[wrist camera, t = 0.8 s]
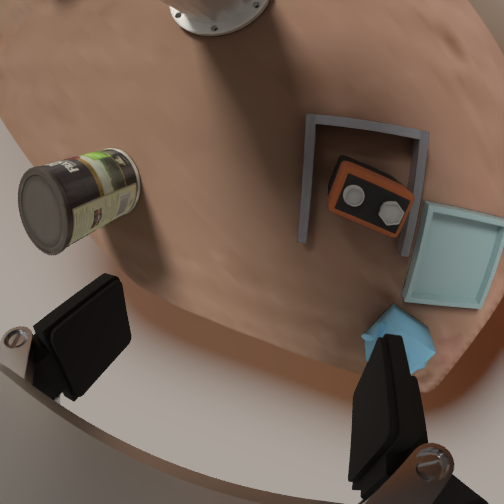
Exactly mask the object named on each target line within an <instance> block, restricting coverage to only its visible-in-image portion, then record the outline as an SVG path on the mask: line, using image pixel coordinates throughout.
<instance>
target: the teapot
mask: <svg viewBox="0 0 504 504" xmlns="http://www.w3.org/2000/svg"><path fill="white" fill-rule="evenodd" d="M386 333H387V334H394V335H401V336H402V338H403V342H404V346H405V351H406V355H407V359H408V364H409V369H410V374H413V373H414V372H415V371H416V370H417V369H423V368H424V367H425V366H426V364H427V361H428V360H429V359H430V358H431V357H432V356H433V355H434V354H436V350H435V347H434V344H433V341H432V338H431V335H430V332H429V329H428V327H427V326H426V325H424V324H423V323H421V322H420V321H419V320H417V319H416V318H414V317H413V316H411V315H410V314H408V313H407V312H405V311H404V310H402V309H401V308H399V307H398V306H396V305H395V304H392V305H391V306H390V307H389V308H388V309H387V310H386V311H385V312H384V314H383V315H382V316H381V317H380V318H379V319H378V320H377V321H376V322H375V323H374V324H373V325H372V326H371V327H370V328H369V329H368V330H367V331H366V332H365V333H364V334H363V335H362V336H361V337H362V338H363V339H364V341H365V354H366V361H367V362H368V360H369V358H370V355H371V353H372V351H373V348H374V346H375V343H376V341H377V339H378V337H383V336H384V334H386Z"/></svg>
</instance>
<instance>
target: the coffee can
mask: <svg viewBox="0 0 504 504" xmlns="http://www.w3.org/2000/svg"><path fill="white" fill-rule="evenodd" d="M139 195H140V177H139V173H138V170H137V167H136V165H135V163H134V162H133V160H132V159H131V158H130V156H129V155H127V154H126V153H125V152H123V151H121V150H119V149H116V148H108V149H105V150H101V151H97V152H93V153H89V154H84V155H80V156H76V157H72V158H68V159H65V160H61V161H57V162H54V163H50V164H47V165H44V166H38V167H33V168H30V169H29V170H27V171H26V172H25V173H24V175H23V177H22V179H21V181H20V185H19V190H18V206H19V212H20V216H21V220H22V223H23V226H24V228H25V230H26V233H27V234H28V236H29V238H30V239H31V241H32V242H33V243H34V245H35V246H36V247H37V248H38V249H39V250H41V251H42V252H44V253H46V254H48V255H57V254H59V253H60V252H62V251H63V250H64V249H65V248H66V247H68V246H70V245H71V244H73V243H75V242H76V241H78V240H80V239H82V238H83V237H85V236H87V235H88V234H90V233H92V232H94V231H95V230H97V229H99V228H101V227H103V226H104V225H106V224H108V223H110V222H112V221H114V220H115V219H117V218H119V217H121V216H123V215H126V214H128V213H129V212H131V211H132V210H133V208H134V207H135V205H136V204H137V201H138V199H139Z"/></svg>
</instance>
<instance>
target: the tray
mask: <svg viewBox="0 0 504 504" xmlns="http://www.w3.org/2000/svg"><path fill="white" fill-rule="evenodd" d="M503 247H504V218H503V217H499V216H495V215H491V214H486V213H482V212H478V211H474V210H469V209H465V208H460V207H455V206H450V205H446V204H441V203H436V202H430V201H425V200H424V203H423V208H422V214H421V219H420V224H419V228H418V233H417V238H416V242H415V246H414V250H413V254H412V258H411V262H410V266H409V270H408V274H407V277H406V281H405V284H404V288H403V291H402V296H403V299H404V302H410V303H420V304H430V305H440V306H450V307H461V308H473V309H481V308H482V306H483V303H484V301H485V299H486V296H487V294H488V291H489V288H490V286H491V283H492V280H493V278H494V275H495V272H496V269H497V266H498V263H499V260H500V257H501V254H502V250H503Z"/></svg>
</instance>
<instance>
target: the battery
mask: <svg viewBox="0 0 504 504" xmlns="http://www.w3.org/2000/svg"><path fill="white" fill-rule="evenodd" d="M414 200H415V197H414V195H413V194H412V193H411V192H410V191H409V190H408V189H407V188H406V187H404V186H403V185H402V184H401V183H400V182H398V181H397V180H396V179H395V178H394V177H392V176H390V175H388V174H386V173H384V172H381V171H379V170H377V169H375V168H372V167H370V166H368V165H366V164H363V163H361V162H358V161H356V160H354V159H351V158H349V157H346V156H340V157H339V159H338V162H337V164H336V167H335V170H334V173H333V175H332V178H331V180H330V183H329V186H328V209H329V210H330V211H331V212H332V213H335V214H337V215H339V216H342V217H344V218H347V219H349V220H352V221H354V222H356V223H359V224H361V225H364V226H366V227H368V228H371V229H373V230H375V231H378V232H380V233H382V234H384V235H387V236H389V237H392V238H396V237H397V236H398V235H399V233H400V230H401V228H402V226H403V224H404V222H405V220H406V218H407V216H408V213H409V211H410V209H411V207H412V204H413V202H414Z"/></svg>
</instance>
